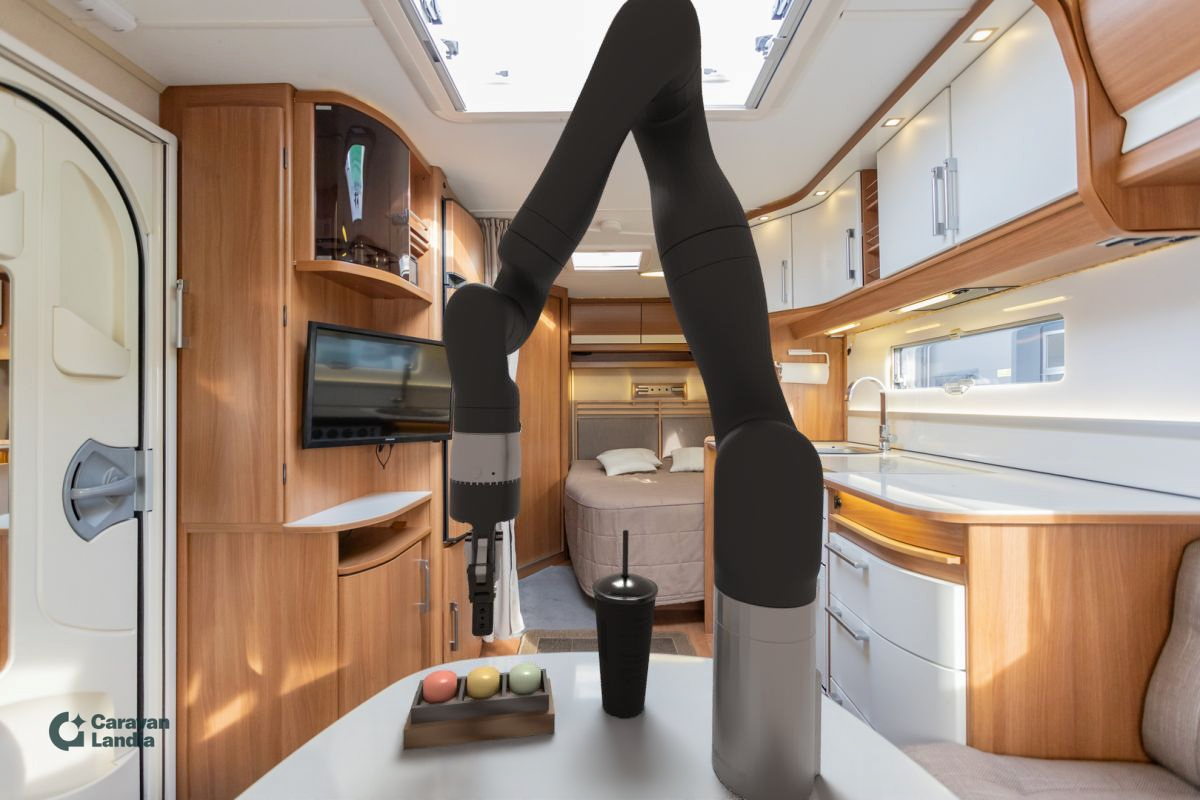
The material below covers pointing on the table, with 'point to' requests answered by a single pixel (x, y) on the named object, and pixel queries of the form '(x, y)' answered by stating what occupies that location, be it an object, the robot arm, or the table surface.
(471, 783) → the table surface
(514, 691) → the button sage
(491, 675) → the button ochre
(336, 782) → the table surface
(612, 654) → the drinking cup
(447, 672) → the button coral
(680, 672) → the table surface
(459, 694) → the toy traffic light
